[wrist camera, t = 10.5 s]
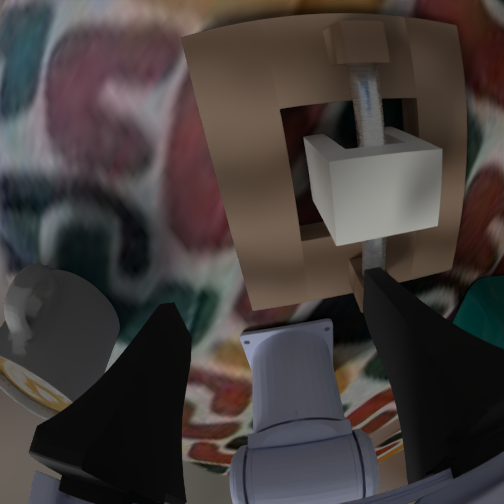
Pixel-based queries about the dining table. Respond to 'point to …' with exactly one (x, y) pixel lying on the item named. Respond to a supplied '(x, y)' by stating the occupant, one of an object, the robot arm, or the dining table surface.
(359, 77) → the hook bar
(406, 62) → the shelf
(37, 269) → the coffee mug
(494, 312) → the teal bottle
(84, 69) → the dining table surface
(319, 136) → the grey u-slotted block
